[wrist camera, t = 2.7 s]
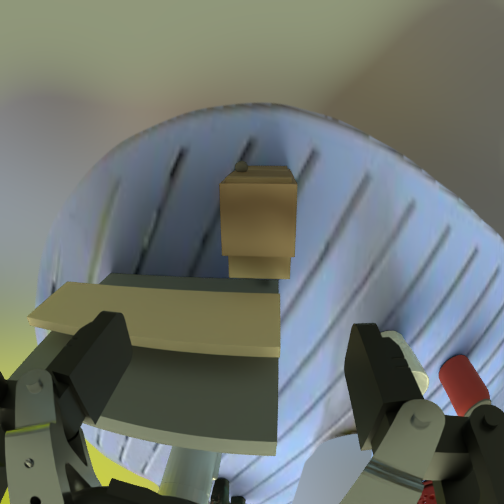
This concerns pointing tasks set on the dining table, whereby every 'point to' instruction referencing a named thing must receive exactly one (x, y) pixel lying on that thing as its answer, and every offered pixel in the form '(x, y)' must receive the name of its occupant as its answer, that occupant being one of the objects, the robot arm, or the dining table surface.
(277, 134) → the dining table surface
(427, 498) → the plant pot
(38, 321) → the wall board
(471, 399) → the beer can
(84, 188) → the dining table surface
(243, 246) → the cabinet
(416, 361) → the white cup
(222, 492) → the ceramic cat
